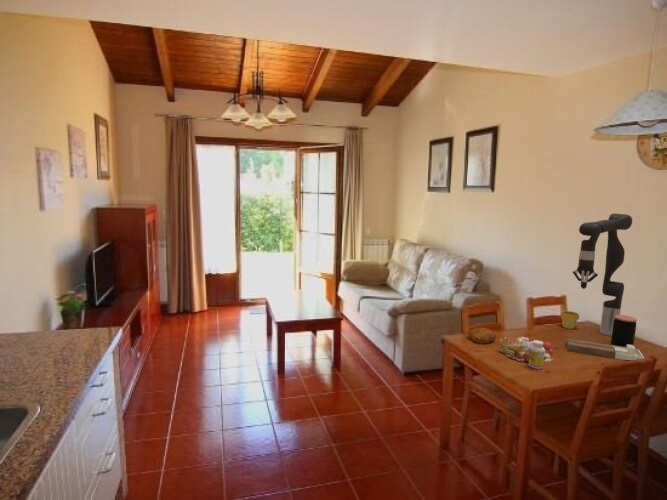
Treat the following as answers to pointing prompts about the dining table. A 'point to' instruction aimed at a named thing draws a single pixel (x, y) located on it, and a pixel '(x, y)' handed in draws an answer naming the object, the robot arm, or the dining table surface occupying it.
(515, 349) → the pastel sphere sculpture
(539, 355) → the supplement bottle
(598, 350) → the board
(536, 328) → the dining table surface
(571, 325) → the plant pot
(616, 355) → the tray
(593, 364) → the dining table surface
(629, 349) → the tile
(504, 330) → the dining table surface
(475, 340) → the round bread loaf
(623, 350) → the tile
